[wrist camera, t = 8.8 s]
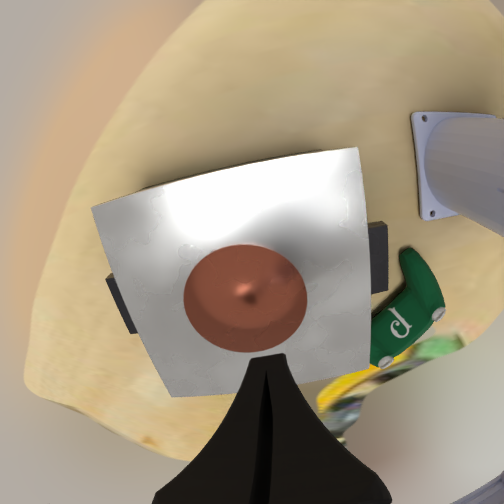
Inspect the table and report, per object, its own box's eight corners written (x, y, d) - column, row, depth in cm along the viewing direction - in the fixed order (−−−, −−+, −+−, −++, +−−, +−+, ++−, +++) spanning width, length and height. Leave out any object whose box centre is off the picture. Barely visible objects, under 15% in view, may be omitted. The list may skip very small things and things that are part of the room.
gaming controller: (335, 323, 25) (374, 374, 22) (321, 326, 21) (367, 385, 19) (410, 251, 22) (454, 302, 19) (409, 242, 19) (461, 302, 16)
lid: (352, 147, 12) (359, 147, 11) (365, 360, 16) (370, 370, 15) (98, 204, 13) (88, 208, 12) (174, 388, 17) (171, 399, 16)
